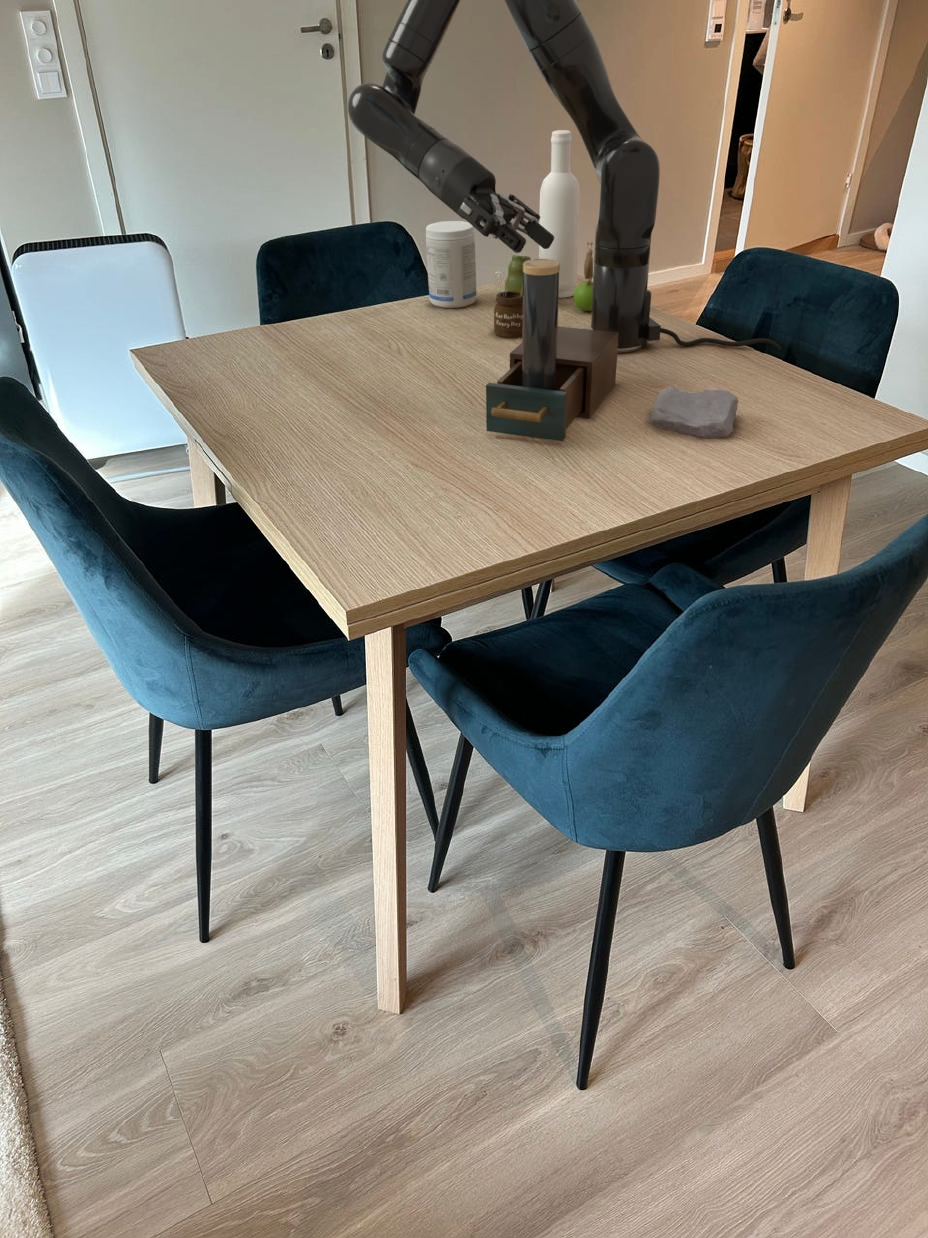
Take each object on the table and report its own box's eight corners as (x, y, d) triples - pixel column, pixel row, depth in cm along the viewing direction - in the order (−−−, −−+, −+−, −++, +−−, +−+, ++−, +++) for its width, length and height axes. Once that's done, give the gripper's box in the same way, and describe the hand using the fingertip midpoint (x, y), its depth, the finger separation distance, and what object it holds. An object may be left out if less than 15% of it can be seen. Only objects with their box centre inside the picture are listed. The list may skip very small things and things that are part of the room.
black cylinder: (549, 405, 143) (553, 257, 132) (559, 417, 139) (564, 266, 128) (517, 408, 142) (518, 260, 131) (526, 421, 138) (528, 268, 127)
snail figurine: (600, 305, 192) (604, 241, 185) (601, 314, 187) (604, 249, 180) (573, 304, 193) (575, 241, 186) (572, 314, 187) (575, 249, 181)
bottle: (551, 285, 205) (554, 127, 188) (583, 291, 201) (590, 129, 184) (530, 295, 199) (532, 132, 183) (563, 300, 195) (568, 134, 179)
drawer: (554, 452, 132) (555, 404, 128) (476, 441, 136) (475, 394, 132) (590, 407, 145) (592, 362, 141) (518, 398, 149) (518, 354, 145)
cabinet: (589, 419, 144) (592, 362, 139) (509, 408, 148) (509, 353, 143) (615, 385, 155) (618, 331, 150) (540, 377, 159) (541, 324, 154)
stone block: (729, 451, 137) (738, 412, 143) (731, 422, 133) (740, 384, 140) (644, 445, 140) (657, 407, 147) (645, 416, 137) (658, 379, 144)
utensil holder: (495, 328, 181) (495, 261, 175) (529, 328, 180) (530, 261, 174) (492, 338, 176) (491, 269, 170) (526, 338, 176) (527, 270, 169)
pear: (501, 309, 191) (501, 256, 186) (510, 301, 195) (510, 250, 190) (528, 311, 190) (528, 258, 184) (537, 304, 194) (537, 251, 188)
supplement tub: (467, 293, 201) (465, 218, 193) (483, 305, 194) (482, 227, 186) (422, 299, 199) (418, 223, 190) (437, 311, 191) (434, 232, 183)
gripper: (441, 154, 136) (525, 224, 133) (493, 155, 147) (572, 219, 144) (418, 203, 140) (499, 271, 137) (470, 200, 151) (546, 264, 148)
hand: (536, 245), depth 141 cm, fingers open, 8 cm apart
